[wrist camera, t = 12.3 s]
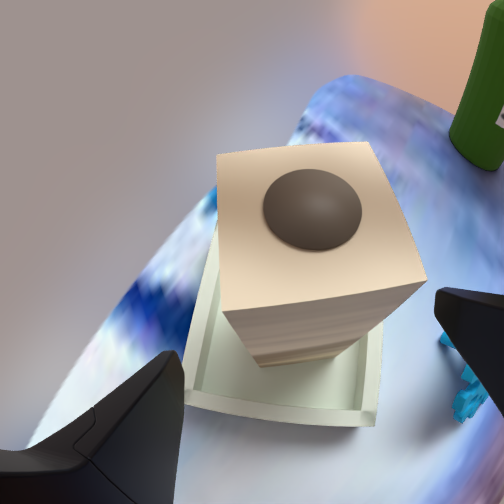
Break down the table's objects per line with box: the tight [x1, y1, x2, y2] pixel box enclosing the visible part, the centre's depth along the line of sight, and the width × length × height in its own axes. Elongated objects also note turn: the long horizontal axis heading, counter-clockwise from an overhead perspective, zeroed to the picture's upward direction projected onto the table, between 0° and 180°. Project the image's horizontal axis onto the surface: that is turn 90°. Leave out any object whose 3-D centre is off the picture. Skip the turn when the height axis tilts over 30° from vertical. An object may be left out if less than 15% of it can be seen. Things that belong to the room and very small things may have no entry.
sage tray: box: [182, 220, 383, 427], centre depth 18 cm, size 13×12×3 cm
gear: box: [440, 294, 500, 423], centre depth 15 cm, size 11×6×10 cm
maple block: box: [217, 142, 427, 368], centre depth 13 cm, size 5×5×13 cm
